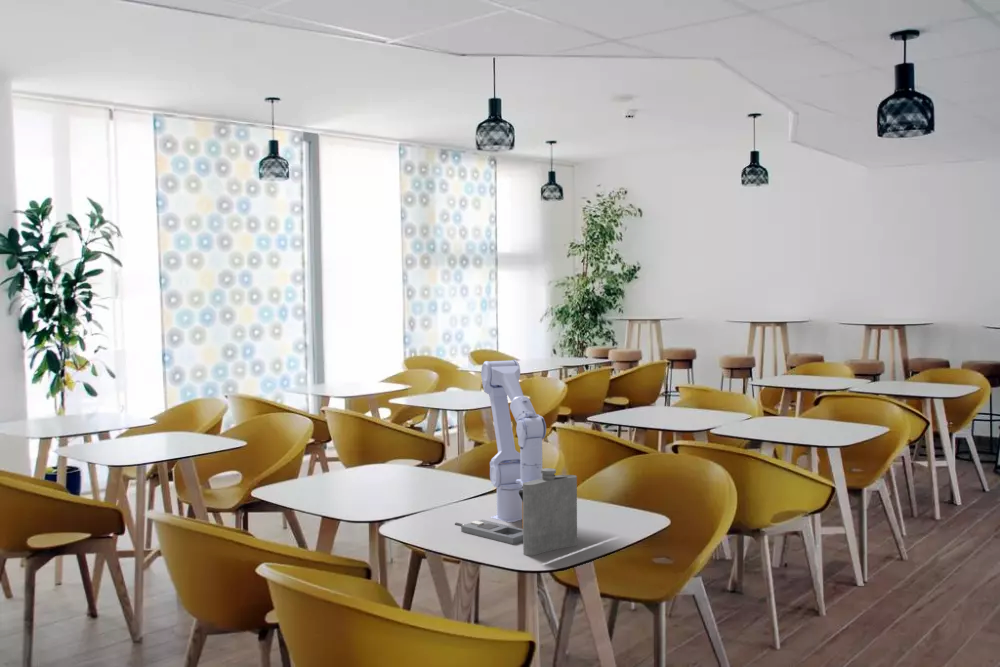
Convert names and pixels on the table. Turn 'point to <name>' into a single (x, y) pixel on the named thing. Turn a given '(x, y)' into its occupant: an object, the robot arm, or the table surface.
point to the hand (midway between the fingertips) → (531, 515)
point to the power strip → (493, 531)
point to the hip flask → (549, 513)
